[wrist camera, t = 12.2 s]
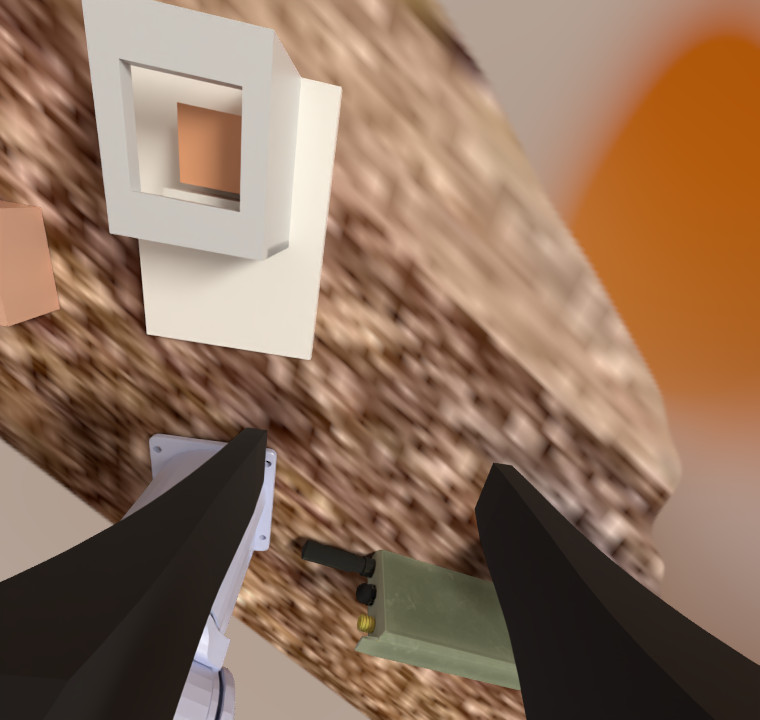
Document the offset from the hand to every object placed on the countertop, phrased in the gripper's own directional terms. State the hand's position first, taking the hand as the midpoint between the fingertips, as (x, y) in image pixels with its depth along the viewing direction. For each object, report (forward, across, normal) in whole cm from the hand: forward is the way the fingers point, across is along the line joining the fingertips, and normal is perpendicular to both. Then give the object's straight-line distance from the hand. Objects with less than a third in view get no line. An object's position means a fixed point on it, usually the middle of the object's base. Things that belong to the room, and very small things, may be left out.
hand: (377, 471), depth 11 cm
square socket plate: (+10, +8, -5) cm, 14 cm away
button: (+10, +8, -8) cm, 15 cm away
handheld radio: (+11, -10, +20) cm, 24 cm away
